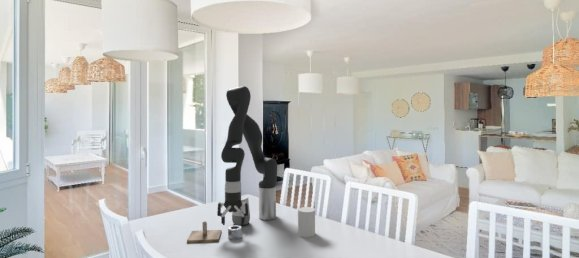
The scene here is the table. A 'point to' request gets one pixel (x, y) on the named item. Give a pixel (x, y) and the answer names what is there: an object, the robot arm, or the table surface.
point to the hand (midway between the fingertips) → (233, 224)
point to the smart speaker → (237, 217)
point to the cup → (306, 222)
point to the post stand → (204, 235)
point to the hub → (234, 232)
